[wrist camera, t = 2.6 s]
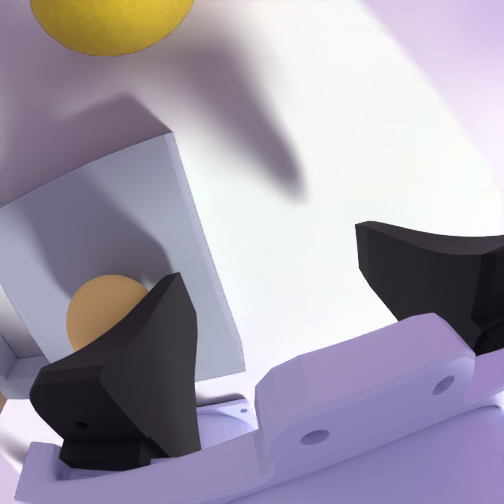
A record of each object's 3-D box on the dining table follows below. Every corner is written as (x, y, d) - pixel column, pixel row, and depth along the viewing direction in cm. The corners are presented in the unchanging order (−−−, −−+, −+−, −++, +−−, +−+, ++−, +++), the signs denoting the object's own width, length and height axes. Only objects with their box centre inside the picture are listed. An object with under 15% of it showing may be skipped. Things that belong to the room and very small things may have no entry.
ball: (181, 323, 14) (175, 389, 10) (109, 339, 14) (87, 399, 10) (148, 246, 12) (123, 300, 8) (71, 270, 12) (31, 323, 8)
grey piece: (241, 342, 17) (249, 399, 13) (11, 379, 17) (-8, 416, 13) (173, 131, 12) (153, 137, 8) (-65, 252, 12) (-100, 280, 8)
